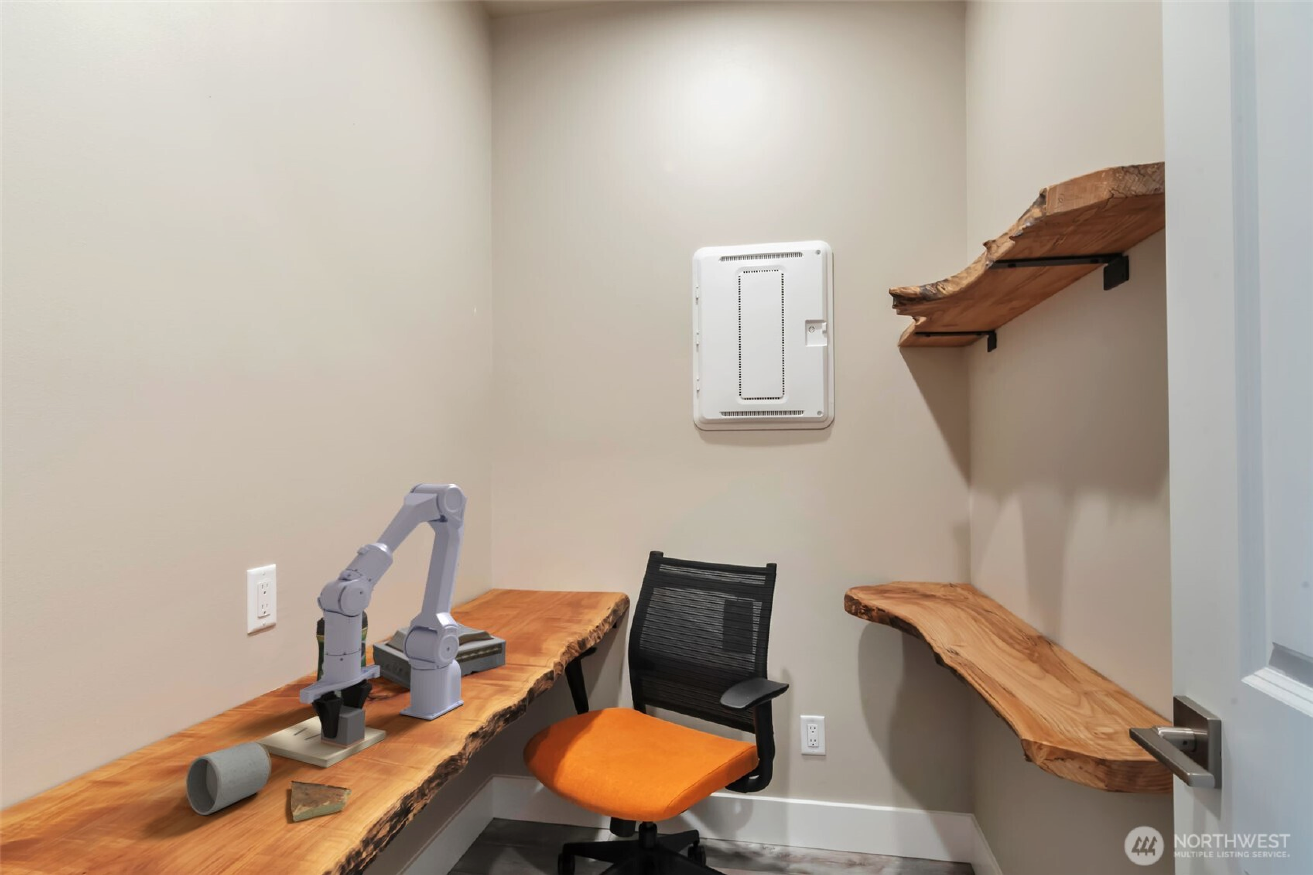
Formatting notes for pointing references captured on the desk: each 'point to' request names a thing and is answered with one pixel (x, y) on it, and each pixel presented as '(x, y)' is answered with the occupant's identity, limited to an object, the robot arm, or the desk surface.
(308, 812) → the shard
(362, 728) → the block
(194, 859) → the desk surface
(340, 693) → the coffee jar
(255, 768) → the ceramic mug
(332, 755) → the cream flat board
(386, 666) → the bible
